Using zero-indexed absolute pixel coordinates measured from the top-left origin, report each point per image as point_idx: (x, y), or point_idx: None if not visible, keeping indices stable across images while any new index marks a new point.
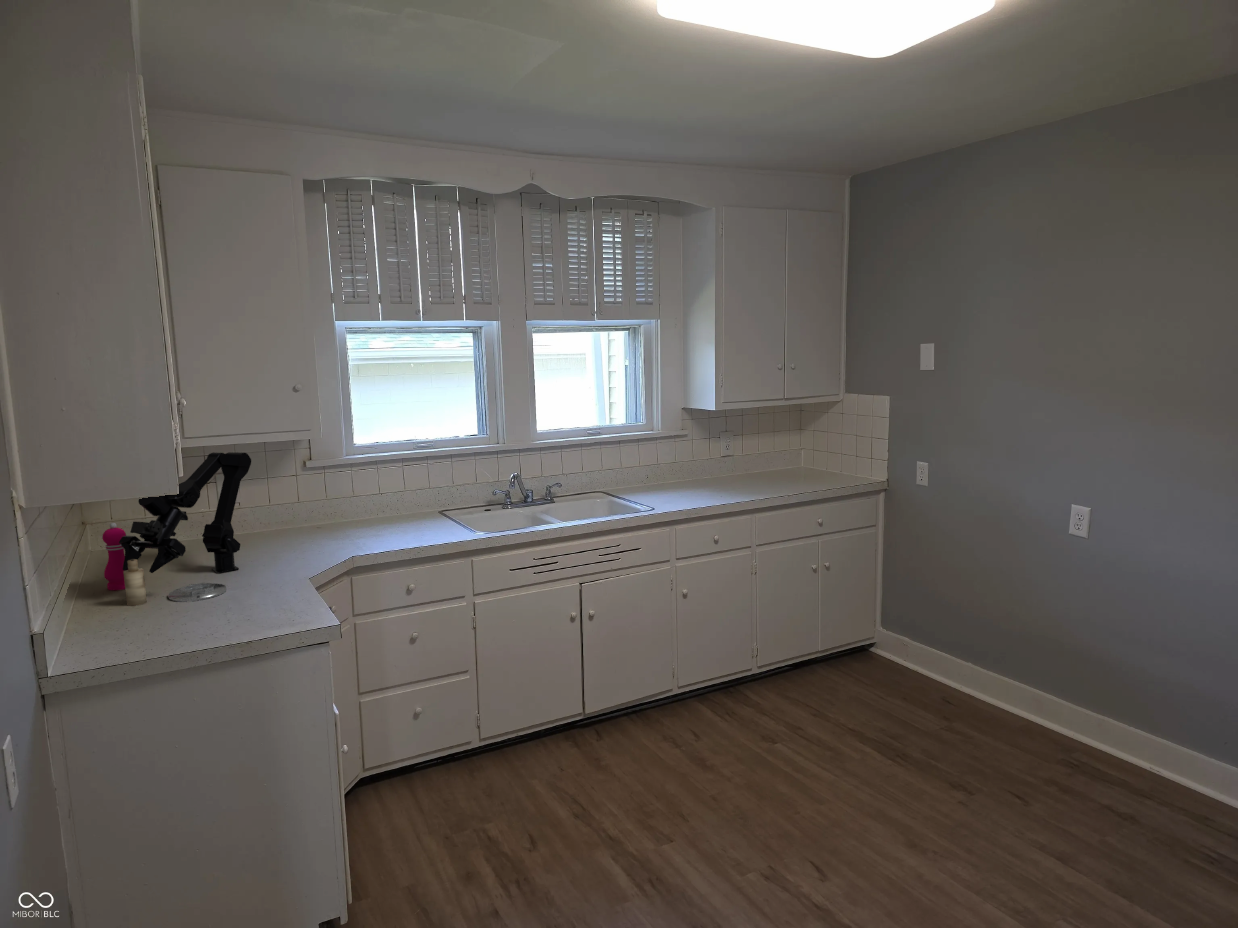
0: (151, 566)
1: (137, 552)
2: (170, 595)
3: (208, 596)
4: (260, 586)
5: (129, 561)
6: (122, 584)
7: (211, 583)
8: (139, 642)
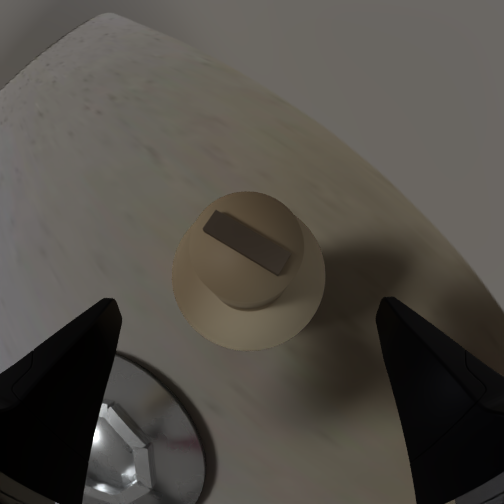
0: (91, 318)
1: (445, 491)
2: (156, 391)
3: None
4: None
5: (239, 195)
6: None
7: (85, 492)
8: (43, 89)
